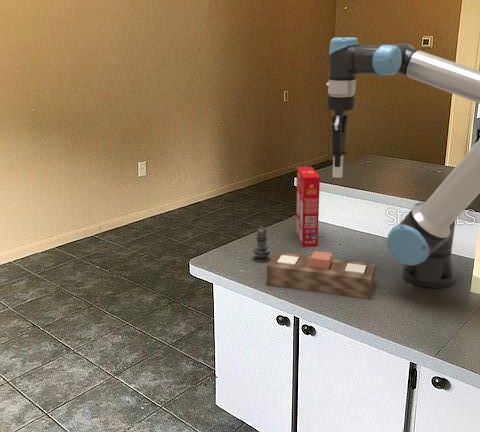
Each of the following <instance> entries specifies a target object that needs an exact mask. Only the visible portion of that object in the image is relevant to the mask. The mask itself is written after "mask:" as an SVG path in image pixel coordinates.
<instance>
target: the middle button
mask: <svg viewBox="0 0 480 432" xmlns="http://www.w3.org/2000/svg"><path fill="white" fill-rule="evenodd" d="M310 256H311V258H310V268H315V269H323V270H330V268H331V266H332V259H333V252H325V251H318V250H317V251H316V250H314V251H313V253H312V254H311V255H310Z"/></svg>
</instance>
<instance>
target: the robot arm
mask: <svg viewBox="0 0 480 432" xmlns="http://www.w3.org/2000/svg"><path fill="white" fill-rule="evenodd" d="M328 51H329V53H328V77H327V78H328V79H327V80H328V82H326V84H325V86H326V87H328V88H327V94H328V97H327V103H326V105H327V106H326V108H327V110H328V111H333V112H334V113H333V114H334V115H333V116H332V117H331V137H332V138H331V143H332V144H331V145H332V146H331V148H332V151H331V153H330V156H331V157H332V174H331V175H332V176H331V177H332V178H339V179H340V178H341V179H342V178H343V171H344V155H347V151H345V150H346V137H347V126H348V121H349V116H348V115H347V112H348V111H352V110H355V99H356V98H355V96H354V95H355V94H356V83H357V82H356V81H357V75H369V76H370V75H376V76H381V77H382V76H383V77H385V76H393V75H395V74H398V75H401V76H403V77H407V78H409V79H412V80H415V81H417V82H421V83H423V84H426V85H429V86H431V87H434V88H436V89H439V90H442V91H445V92H448V93H449V94H452V95H455V96H458V97H461V98H464V99H466V100H468V101H471V102H474V103H477V104H478V105H479V104H480V70H478V69H476V68H473V67H469V66H466V65H463V64H460V63H457V62H455V61H451V60H449V59H446V58H443V57H440V56H437V55H434V54H431V53H427V52H425V51H422V50H419V49H416V48H414V47H413V46H412V45H410V44H407V43H403V42H401V43H399V42H398V43H393V44H390V43H389V44H373V45H372V44H371V45H370V44H367V45H364V44H363V45H361V44H359V41H358V38H357V37H349V36H348V37H332V39H330V41H329V50H328ZM479 194H480V138H479V139H478V140H477V141H476V143H474V145H473V146H472V147H471V148H470V149H469V151H467V153H466V154H465V155H464V157H463V158H462V159H461V160H460V161H459V162H458V164H457V165H456V166H455V167H454V168H453V169H452V171H451V172H450V173H449V174H447V176H446V177H445V179H444V180H443V181H441V184H440V185H438V187H437V188H436V189H435V191H434V192H433V193H432V194H431V195H430V197H429V198H428V199H427V200H426V201H423V202H422V201H421V202H420V201H419V202H417V203H415V204H414V206H413V207H412V208H411V210H410V211H409V212H408V213H407V214H406V216H405V217H404V218H403V219H402V221H401V222H400V223H399V224H397V225H395V226H393V227H392V228H391V230H390V231H389V233H388V234H387V240H386V243H387V247H388V251H389V253H390V255H392V257H393V258H394V260H396V261H397V262H399V263H401V264H402V269H401V277H402V278H403V279H404V280H405V281H407V282H408V283H410V284H413V285H415V286H418V287H422V288H423V287H424V288H431V289H439V288H446V287H450V286H451V285H453V284H454V283H455V279H456V272H455V268H454V263H453V259H452V252H453V251H452V250H453V244H454V243H453V242H454V235H455V225H456V221H457V218H459V217H460V215H461V214H462V213H463V212H464V211H465V210H466V209H467V208H468V207H469V206H470V204H471V203H472V202H473V201H474V200H475V199H476V198H477V197H478V196H479Z"/></svg>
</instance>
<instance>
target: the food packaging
mask: <svg viewBox="0 0 480 432" xmlns="http://www.w3.org/2000/svg"><path fill="white" fill-rule="evenodd" d="M320 183H321V177H320V175H319V174H318V173H317V171H316V170H315V169H314V168H313V166H297V167H296V214H295V215H296V216H295V234H296V233H297V234H296V236H297V238H298V240H299V243H300V244H301V247H302V248H313V247H319V246H318V242H319V237H318V236H319V214H320V213H319V212H320V211H319V210H320V209H319V208H320V189H321V187H320V185H321V184H320Z"/></svg>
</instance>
